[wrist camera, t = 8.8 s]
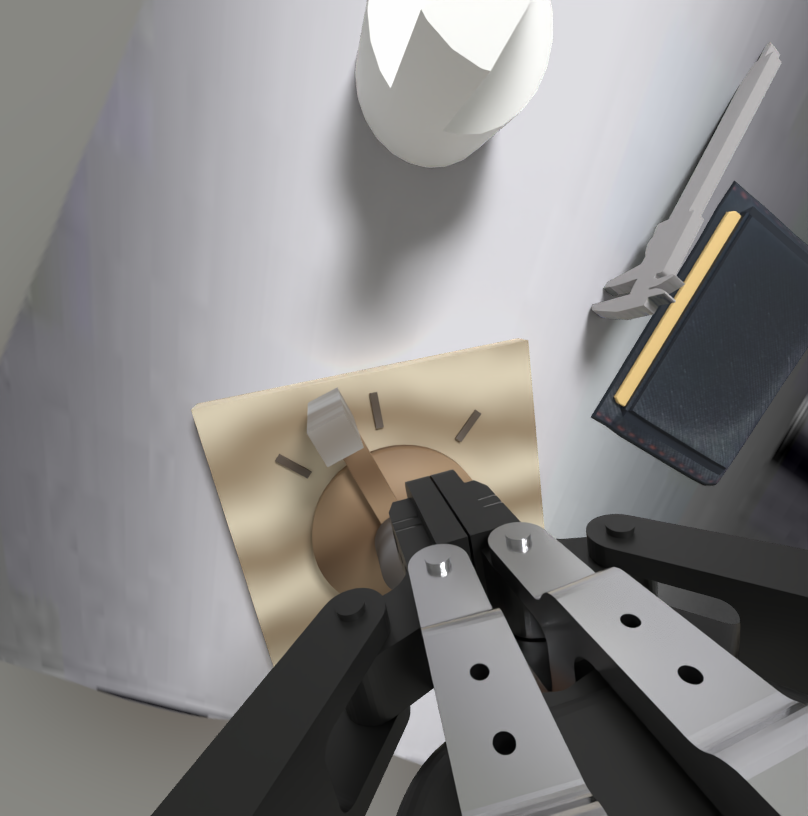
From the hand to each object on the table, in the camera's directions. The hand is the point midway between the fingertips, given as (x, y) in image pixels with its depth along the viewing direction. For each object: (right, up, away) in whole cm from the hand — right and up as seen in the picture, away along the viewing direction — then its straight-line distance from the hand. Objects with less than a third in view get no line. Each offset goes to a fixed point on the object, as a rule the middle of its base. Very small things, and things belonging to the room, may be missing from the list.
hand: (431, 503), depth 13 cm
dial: (-2, -3, +17) cm, 17 cm away
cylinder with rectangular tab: (+1, +22, +13) cm, 26 cm away
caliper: (+18, +19, +18) cm, 32 cm away
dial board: (-2, -5, +19) cm, 20 cm away
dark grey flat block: (+24, +8, +22) cm, 34 cm away
